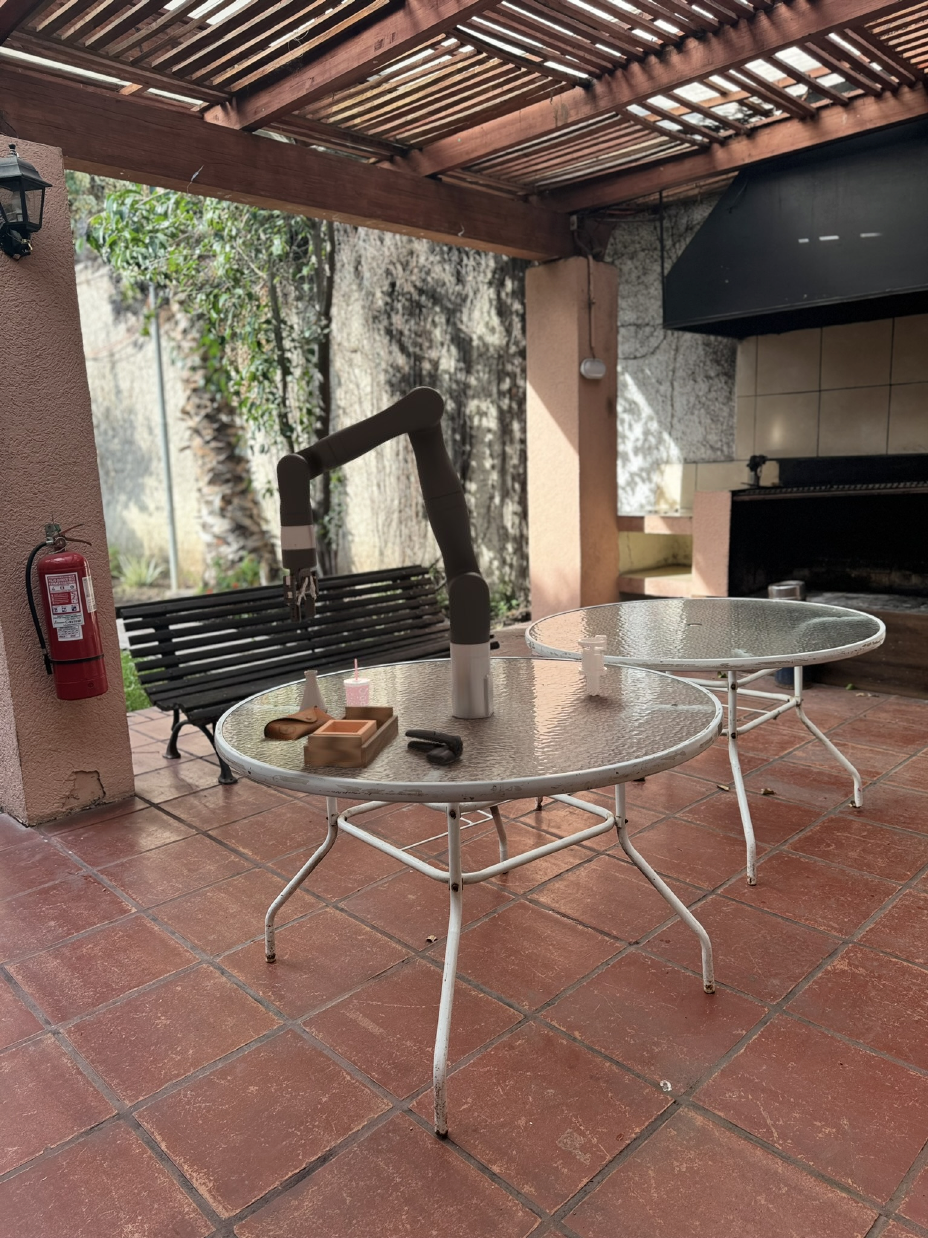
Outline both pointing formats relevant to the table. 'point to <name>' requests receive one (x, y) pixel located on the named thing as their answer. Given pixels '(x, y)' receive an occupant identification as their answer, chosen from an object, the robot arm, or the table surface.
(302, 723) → the sunglasses case
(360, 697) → the beverage cup
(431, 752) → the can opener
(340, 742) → the bay
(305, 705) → the flask
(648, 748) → the table surface
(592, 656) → the white plastic upright piece
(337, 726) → the box
